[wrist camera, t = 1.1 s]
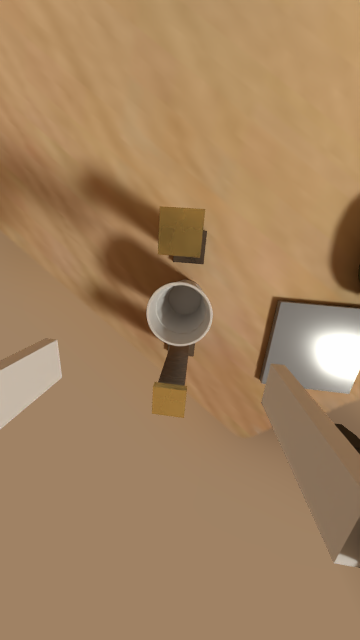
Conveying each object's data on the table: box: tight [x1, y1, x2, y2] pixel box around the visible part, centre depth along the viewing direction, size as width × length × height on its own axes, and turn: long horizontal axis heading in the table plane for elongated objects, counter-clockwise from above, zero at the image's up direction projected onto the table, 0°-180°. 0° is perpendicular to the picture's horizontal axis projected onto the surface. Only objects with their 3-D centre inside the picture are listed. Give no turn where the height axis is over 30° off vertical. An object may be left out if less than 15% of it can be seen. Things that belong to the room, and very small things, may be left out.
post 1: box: [158, 207, 207, 264], centre depth 23 cm, size 5×5×17 cm
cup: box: [146, 280, 213, 346], centre depth 28 cm, size 8×8×12 cm
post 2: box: [152, 343, 195, 418], centre depth 29 cm, size 5×5×17 cm
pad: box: [260, 300, 360, 394], centre depth 34 cm, size 16×16×1 cm
